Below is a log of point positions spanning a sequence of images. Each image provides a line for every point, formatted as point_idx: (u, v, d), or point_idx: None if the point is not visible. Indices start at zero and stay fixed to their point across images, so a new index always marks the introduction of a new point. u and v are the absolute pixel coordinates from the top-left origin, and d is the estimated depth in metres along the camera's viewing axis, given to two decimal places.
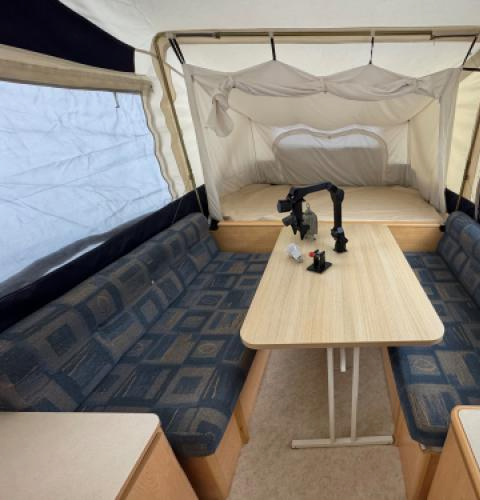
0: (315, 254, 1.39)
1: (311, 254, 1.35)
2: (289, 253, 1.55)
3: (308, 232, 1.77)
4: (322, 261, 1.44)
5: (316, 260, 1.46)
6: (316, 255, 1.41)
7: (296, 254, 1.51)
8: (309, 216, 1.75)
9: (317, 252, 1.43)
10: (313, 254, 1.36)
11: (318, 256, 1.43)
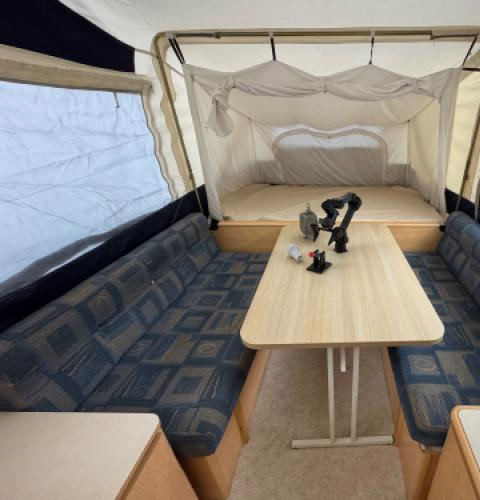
0: (315, 254, 1.39)
1: (311, 254, 1.35)
2: (289, 253, 1.55)
3: (308, 232, 1.77)
4: (322, 261, 1.44)
5: (316, 260, 1.46)
6: (316, 255, 1.41)
7: (296, 254, 1.51)
8: (309, 216, 1.75)
9: (317, 252, 1.43)
10: (313, 254, 1.36)
11: (318, 256, 1.43)
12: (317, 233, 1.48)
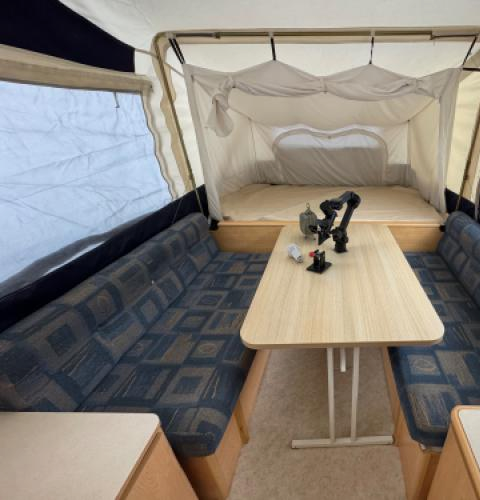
0: (315, 254, 1.39)
1: (311, 254, 1.35)
2: (289, 253, 1.55)
3: (308, 232, 1.77)
4: (322, 261, 1.44)
5: (316, 260, 1.46)
6: (316, 255, 1.41)
7: (296, 254, 1.51)
8: (309, 216, 1.75)
9: (317, 252, 1.43)
10: (313, 254, 1.36)
11: (318, 256, 1.43)
12: None
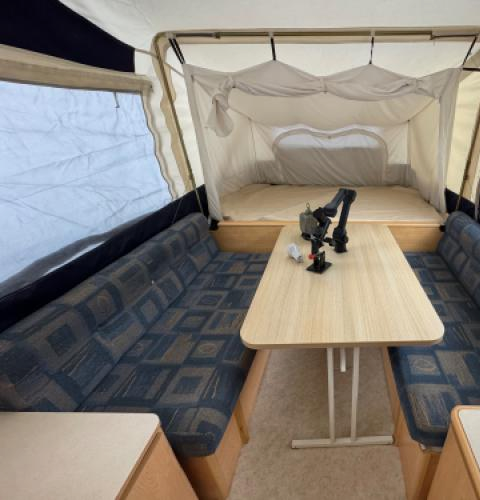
0: (315, 255, 1.39)
1: (311, 257, 1.36)
2: (289, 253, 1.55)
3: (308, 232, 1.77)
4: (322, 261, 1.44)
5: (316, 260, 1.46)
6: (316, 256, 1.41)
7: (296, 254, 1.51)
8: (309, 216, 1.75)
9: (317, 252, 1.43)
10: (313, 256, 1.36)
11: (318, 256, 1.43)
12: None
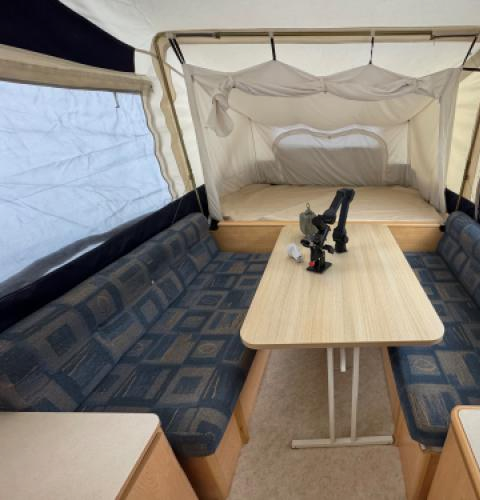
0: (315, 260, 1.40)
1: (311, 265, 1.38)
2: (289, 253, 1.55)
3: (308, 232, 1.77)
4: (322, 261, 1.44)
5: (316, 260, 1.46)
6: (316, 259, 1.42)
7: (296, 254, 1.51)
8: (309, 216, 1.75)
9: None
10: (313, 264, 1.38)
11: (319, 257, 1.44)
12: None
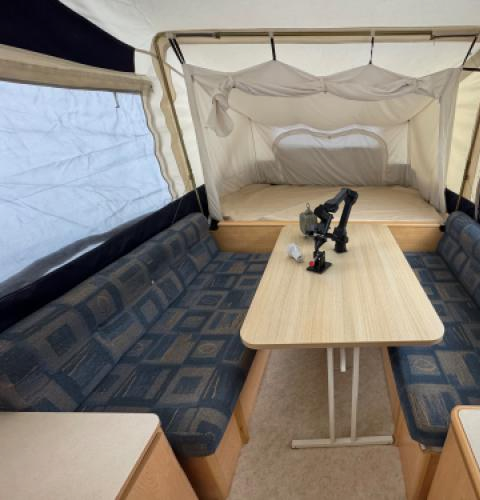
0: (315, 260, 1.40)
1: (311, 265, 1.38)
2: (289, 253, 1.55)
3: None
4: (322, 261, 1.44)
5: (316, 260, 1.46)
6: (316, 259, 1.42)
7: (296, 254, 1.51)
8: (309, 216, 1.75)
9: (316, 254, 1.43)
10: (313, 264, 1.38)
11: (319, 257, 1.44)
12: None
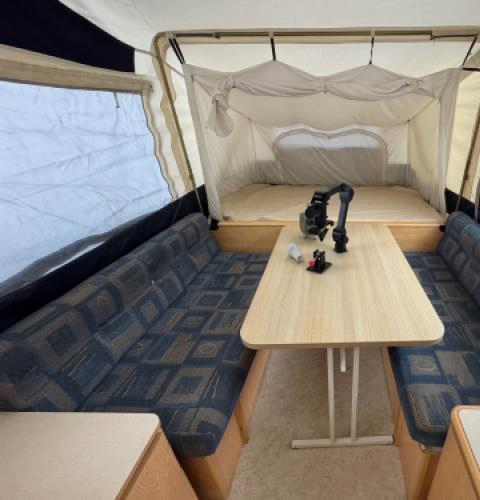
0: (315, 260, 1.40)
1: (311, 265, 1.38)
2: (289, 253, 1.55)
3: None
4: (322, 261, 1.44)
5: (316, 260, 1.46)
6: (316, 259, 1.42)
7: (296, 254, 1.51)
8: None
9: (316, 254, 1.43)
10: (313, 264, 1.38)
11: (319, 257, 1.44)
12: None
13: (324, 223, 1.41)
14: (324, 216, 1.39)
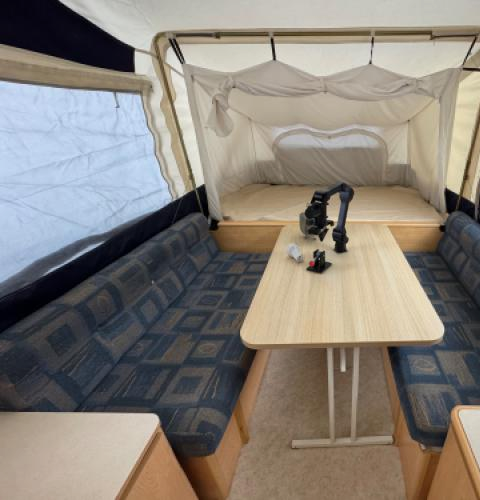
0: (315, 260, 1.40)
1: (311, 265, 1.38)
2: (289, 253, 1.55)
3: None
4: (322, 261, 1.44)
5: (316, 260, 1.46)
6: (316, 259, 1.42)
7: (296, 254, 1.51)
8: None
9: (316, 254, 1.43)
10: (313, 264, 1.38)
11: (319, 257, 1.44)
12: None
13: (324, 223, 1.41)
14: (324, 216, 1.39)
